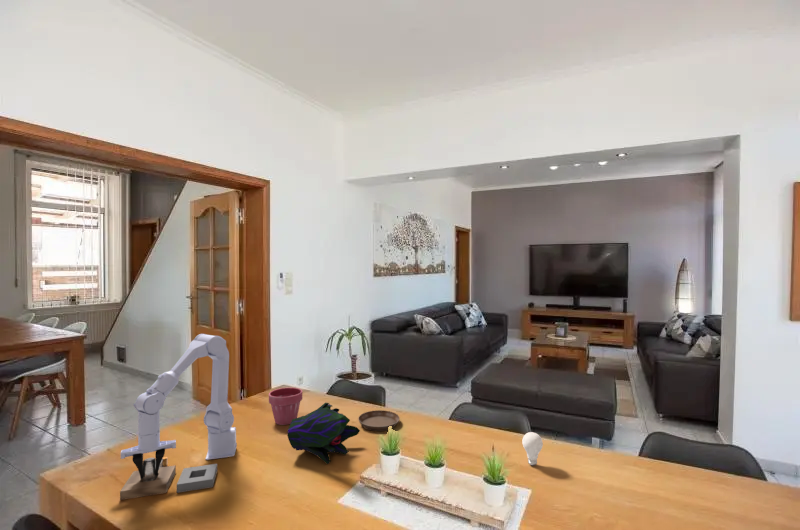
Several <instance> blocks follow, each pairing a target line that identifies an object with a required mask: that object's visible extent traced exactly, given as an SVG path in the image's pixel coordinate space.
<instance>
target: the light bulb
mask: <svg viewBox="0 0 800 530" xmlns="http://www.w3.org/2000/svg"><path fill="white" fill-rule="evenodd" d="M521 443H522V447H523V448H524V450H525V452H526V457H527V463H528V464H529V465H530V466H537V464H538V460H537V459H538V458H539V453H540V452H541V451H542V449H543V445H544V444H543V443H544V442H543V439H542V437H541V436H540V435H539V434H538V433H536V432H533V431H529V432H527V433H525V434H524V435H523V436H522V441H521Z"/></svg>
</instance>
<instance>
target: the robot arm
mask: <svg viewBox="0 0 800 530" xmlns="http://www.w3.org/2000/svg"><path fill="white" fill-rule="evenodd" d="M204 357H209V358H210V359H211V360H212V364H211V365H212V369H211V372H212V373H211V389H210V390H211V392H210V403H209V404H208V405H207V406H206V411H205V414H204V416H203V423H204V425H205V426H206V429H207V453H206V456H205V458H204V459H205V460H206V461H208V460H215V459H217V460H218V459H223V458H228V457H229V458H231V457H235V454H236V450H237V446H238V445H237V427H235V426H234V422H235V417H234V414H233V407H232V406H231V405H230V403H229V402H228V398H229V397H228V396H229V395H228V392H229V371H230V370H229V367H230V352H229V349H228V347H227V340H226V339H224V338H223V337H222V336H220V335H212V334H206V333H200V334H197V335H196V336H195V338H194V339H193V340H191V341H190V342H189V345H188V348H187V349H186V350H185V352H184V353H183V354H182V355H181V356H180V357H179V359H178V360H177V362H175V364H174V365H173V366H172V367H171V369H170V370H169V371H164V372H163V373H160V374H159V375H158V376H157V379H156V380H155V382H153V384H152V385H151V386H150V387H148V388H147V389H146V390H145V391H146V392H143V393H141V394H139V395H138V396H137V398H136V399H135V402H134V403H133V407H134V409H135V410H136V411H137V439H138V440H137V445H136V446H132V447H129V448H125V449H121V451H120V459H121V460H122V459H125V458H127V457H132V462H133V464H134V465H135V467H136V469H137V471H139V473H140V478H141V479H142V478H143V461H144V454H149V453H153V452H155V457H154V458H156V469H155V475H158V470H159V466H160V463H161V461H162V458H163V457H165V453H166V450H168V449H177V439H172V440H161V434H160V433H161V431H160V427H161V425H160V424H161V423H160V422H161V420H160V419H161V418H160V411H161V410H162V408H163V407H164V403H165V400H166V398H167V397H168V395H170V394H171V392H172V391H173V390H174V388H175V387H176V386H177V385H179V383H180V377H181V375H182V374H183V373H185V371H187V370H188V368H189V367H190V366H191V365H192V364H193V363H194V362H195V361H196V360H197V359H201V358H204ZM233 426H234V427H233Z"/></svg>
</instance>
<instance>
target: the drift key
mask: <svg viewBox="0 0 800 530" xmlns="http://www.w3.org/2000/svg"><path fill="white" fill-rule="evenodd" d="M154 458H155V469H156V457H154ZM168 459H169V458H168V456H163V458H162V461H161V463H160V466H159V469H160V468H161V467H168V463H169V462H168V461H169V460H168ZM158 471H159V470H158ZM155 478H157V475H155Z"/></svg>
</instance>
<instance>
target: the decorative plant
mask: <svg viewBox="0 0 800 530" xmlns="http://www.w3.org/2000/svg"><path fill="white" fill-rule="evenodd" d="M332 407H333V405H332V404H330V402H324V403H323V404H322V405H320V406H319V407H318V408H317V409H315V410H313V411H311V412H309V413H306V415H302V416H299V417H298V416H297V418H295V419H292V421H291V424H289V426H288V428H287V440H288V442H289V444H290V446H291V447H292V449H293V450H295V451H306V452H309V453H311V454H313V455H315V456H317V457H318V458H319V459H321V460H322V462H324V463H325V464H326V465H328V464H330V463H331V461H332V460H331V459H330V455H329V453H336V454H341V455H344V456H346V455H347V454H348V453H349V452H350V451H349V450H348V449H347V447H346V445H344V444H343V443H344V442H345V441H347V440H348V439H349V438H353V437H356V436H357V435H358V434H359V433H360V431H361V430H360V429H359V428H358V427H357V426H354V425H349V424H348V423H349V422H350V421H351V419H350V418H348V417H347V416H346V415H345V414H343V413H339V411H340V408H337V407H336V408H333V409H331V408H332Z"/></svg>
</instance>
